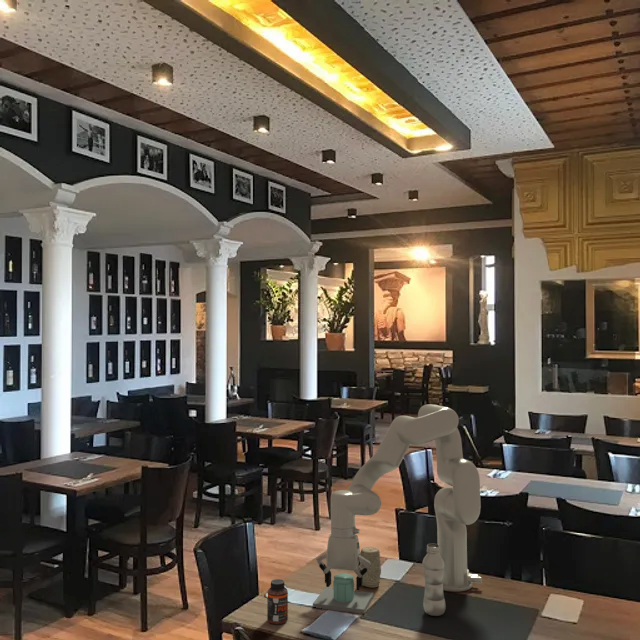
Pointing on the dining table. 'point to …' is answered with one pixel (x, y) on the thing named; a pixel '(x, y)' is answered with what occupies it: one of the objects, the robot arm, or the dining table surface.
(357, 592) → the grey square board
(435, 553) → the plastic bottle
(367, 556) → the carving
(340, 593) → the cap
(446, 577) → the robot arm
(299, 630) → the dining table surface
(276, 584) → the supplement bottle
